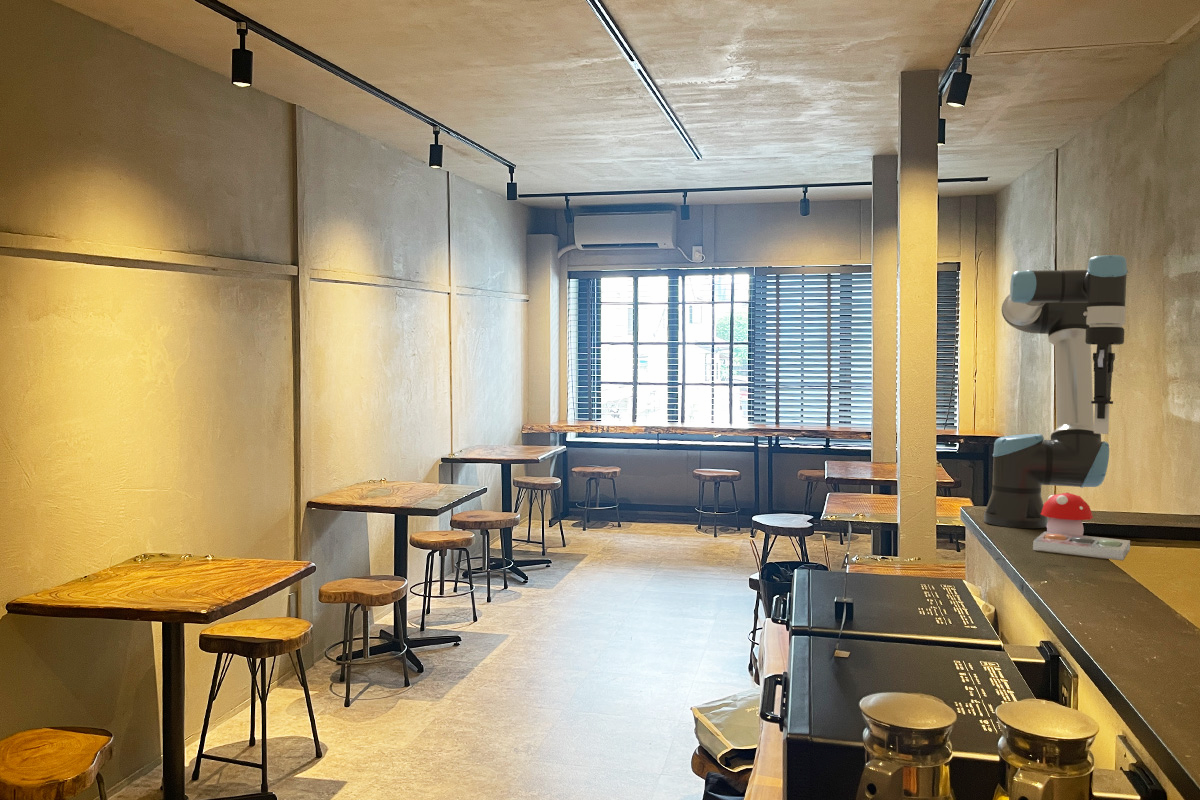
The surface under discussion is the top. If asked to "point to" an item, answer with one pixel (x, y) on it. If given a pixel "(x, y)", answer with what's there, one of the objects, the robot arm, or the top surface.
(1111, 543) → the button sage
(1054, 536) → the button terracotta
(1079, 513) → the mushroom
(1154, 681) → the top surface
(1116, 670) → the top surface
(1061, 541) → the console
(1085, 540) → the button charcoal
